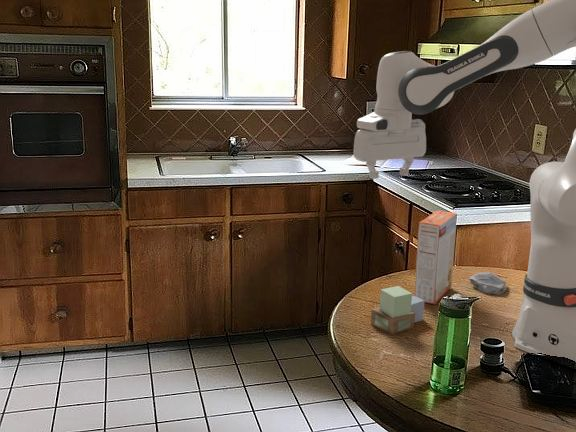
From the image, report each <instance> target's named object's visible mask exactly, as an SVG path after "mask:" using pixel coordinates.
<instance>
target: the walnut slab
mask: <svg viewBox="0 0 576 432" xmlns="http://www.w3.org/2000/svg"><path fill="white" fill-rule="evenodd" d="M379 309H380V306H377V307H374V308H372V309H371V314H370V315H371V316H370V325H372V326H374V327H376V328H378V329H380V330H382V331H384V332H386V333H387V334H390V335H391V336H394V335H397V334H399V333H402V332H405V331H408V330H412V329H414V328H415V323H416V322H415V312H413V311H411V313H410V314H408V315H403V316H399V317H395V318H392V317H391V316H389V315H387V314H386V313H384V312H382V311H381V310H379ZM414 322H415V323H414Z"/></svg>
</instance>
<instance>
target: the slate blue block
mask: <svg viewBox="0 0 576 432" xmlns="http://www.w3.org/2000/svg"><path fill="white" fill-rule="evenodd" d="M411 311H413V312H415V322H414V324H415V323H418V322H420V321H423V320H424V314H425V300H422V299H420V298H418V297H415V296H414V294H412V301H411Z"/></svg>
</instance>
